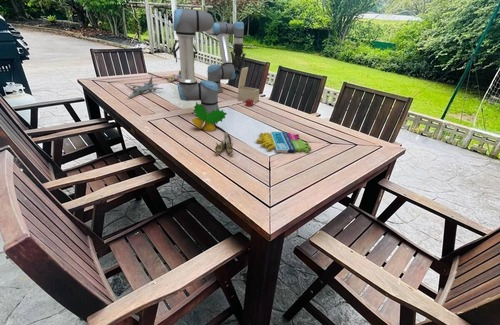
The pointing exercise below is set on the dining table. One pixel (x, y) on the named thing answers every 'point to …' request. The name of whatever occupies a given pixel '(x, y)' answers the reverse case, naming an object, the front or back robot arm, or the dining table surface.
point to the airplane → (143, 88)
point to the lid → (242, 76)
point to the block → (249, 102)
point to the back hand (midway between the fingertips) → (237, 74)
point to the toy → (173, 77)
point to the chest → (248, 94)
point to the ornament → (207, 117)
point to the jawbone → (224, 145)
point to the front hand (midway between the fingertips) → (185, 62)
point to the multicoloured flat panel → (283, 142)
